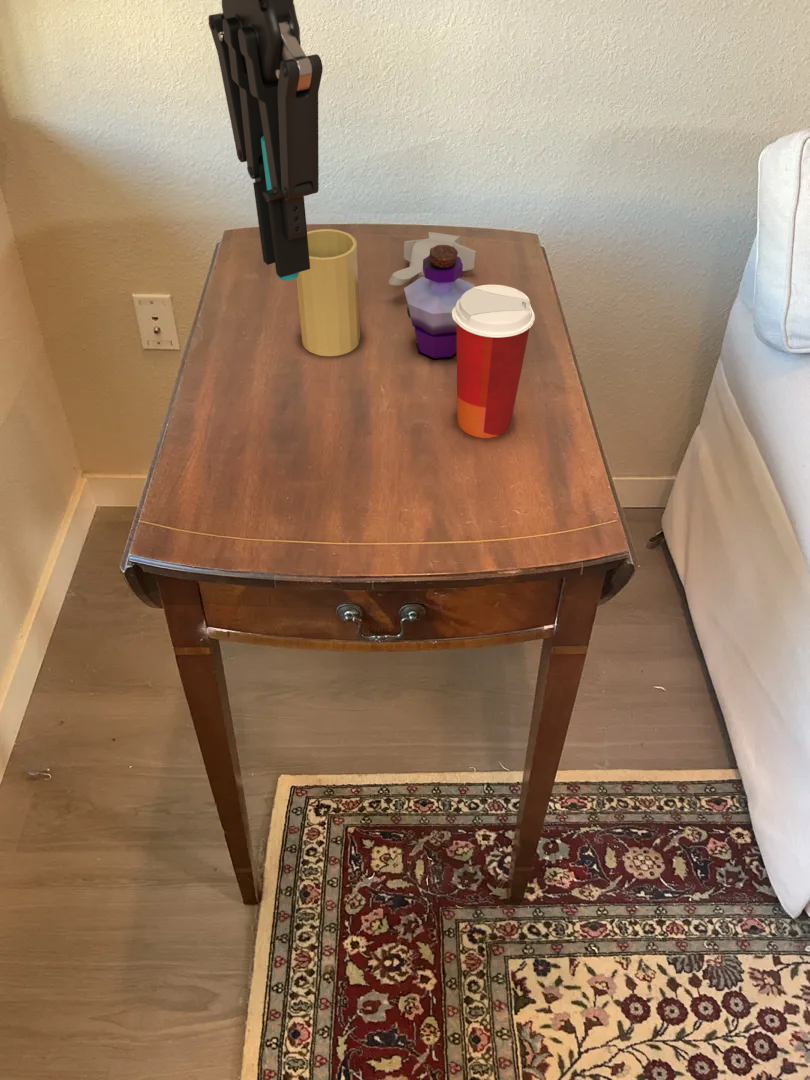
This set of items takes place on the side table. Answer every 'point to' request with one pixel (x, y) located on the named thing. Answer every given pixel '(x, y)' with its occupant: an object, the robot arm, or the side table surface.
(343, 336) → the can
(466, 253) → the bunny figurine
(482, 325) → the paper cup
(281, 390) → the side table surface
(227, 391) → the side table surface
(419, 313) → the potion bottle
